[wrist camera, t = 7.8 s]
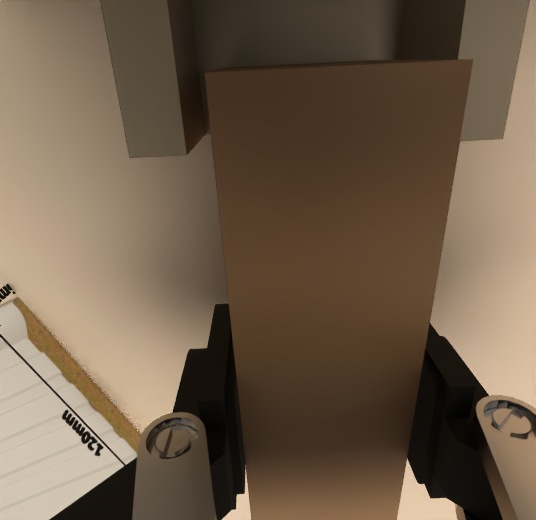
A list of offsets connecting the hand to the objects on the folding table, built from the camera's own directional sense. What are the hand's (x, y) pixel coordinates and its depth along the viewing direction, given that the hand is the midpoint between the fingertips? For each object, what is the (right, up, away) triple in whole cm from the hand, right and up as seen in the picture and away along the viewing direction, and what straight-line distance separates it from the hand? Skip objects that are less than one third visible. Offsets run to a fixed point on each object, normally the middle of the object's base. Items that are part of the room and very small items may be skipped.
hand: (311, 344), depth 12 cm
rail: (0, +1, +3) cm, 3 cm away
